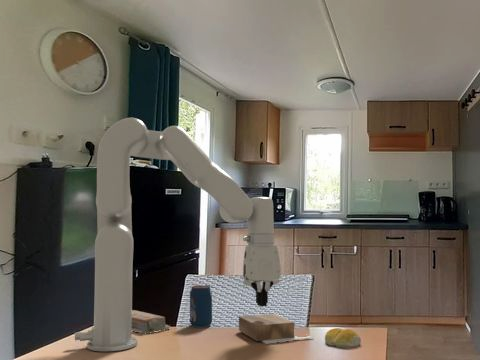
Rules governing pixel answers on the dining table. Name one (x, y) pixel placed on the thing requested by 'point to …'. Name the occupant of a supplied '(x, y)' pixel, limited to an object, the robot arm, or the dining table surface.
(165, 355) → the dining table surface
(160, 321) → the packaged product
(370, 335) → the dining table surface
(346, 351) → the dining table surface
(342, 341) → the bread roll
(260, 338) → the wooden block
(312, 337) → the mat
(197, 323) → the soda can
